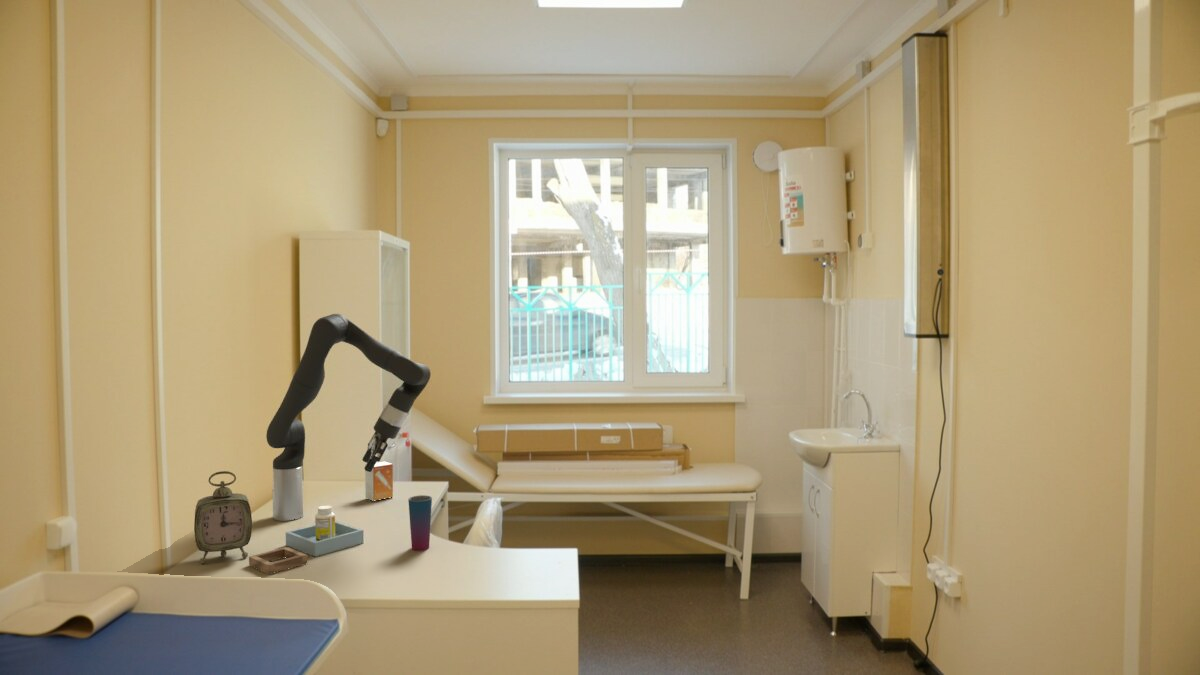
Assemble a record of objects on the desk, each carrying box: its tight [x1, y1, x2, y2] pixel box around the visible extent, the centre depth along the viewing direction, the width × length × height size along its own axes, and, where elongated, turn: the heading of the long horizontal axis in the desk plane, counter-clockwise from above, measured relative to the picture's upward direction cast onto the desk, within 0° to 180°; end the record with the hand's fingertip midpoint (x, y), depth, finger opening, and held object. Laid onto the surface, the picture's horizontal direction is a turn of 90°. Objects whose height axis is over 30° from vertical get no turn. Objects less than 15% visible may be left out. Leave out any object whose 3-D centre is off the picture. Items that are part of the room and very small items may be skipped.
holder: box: [248, 546, 308, 575], centre depth 213 cm, size 11×11×2 cm
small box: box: [364, 461, 394, 501], centre depth 283 cm, size 8×6×13 cm
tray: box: [285, 520, 364, 557], centre depth 231 cm, size 16×16×4 cm
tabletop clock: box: [193, 470, 253, 565], centre depth 217 cm, size 14×9×25 cm, turn 118°
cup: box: [407, 494, 433, 552], centre depth 227 cm, size 7×7×15 cm
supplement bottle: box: [314, 505, 336, 541], centre depth 231 cm, size 6×6×10 cm
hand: (366, 466), depth 239 cm, fingers open, 8 cm apart
